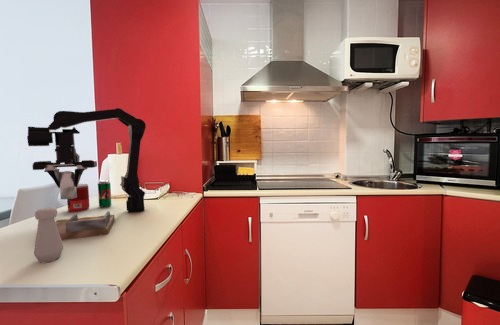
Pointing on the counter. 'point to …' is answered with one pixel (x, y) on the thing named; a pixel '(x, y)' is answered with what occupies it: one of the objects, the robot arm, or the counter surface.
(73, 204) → the canned food
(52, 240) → the salt shaker
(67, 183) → the canister
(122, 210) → the counter surface
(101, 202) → the soda can
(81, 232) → the dock
